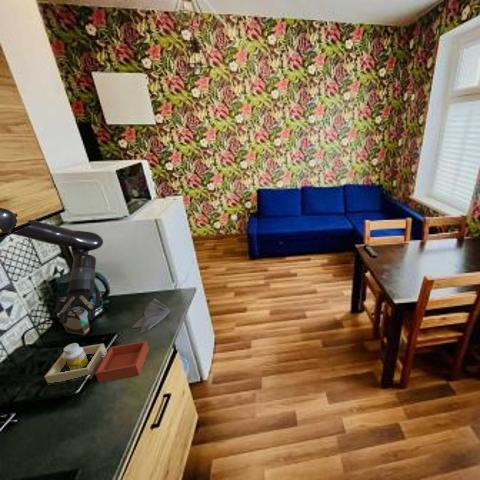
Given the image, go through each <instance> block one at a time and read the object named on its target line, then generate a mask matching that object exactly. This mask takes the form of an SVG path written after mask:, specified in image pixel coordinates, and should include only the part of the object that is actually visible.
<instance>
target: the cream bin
mask: <svg viewBox="0 0 480 480" xmlns="http://www.w3.org/2000/svg"><path fill="white" fill-rule="evenodd" d="M81 347H82V348H83V350H84V352H85V354H86V355H87V354H94V353H95V354H94V356H93V357H92V359H91V361H90V362H89V364H88V365H87V367H86V368H81V369H76V370H70V371H65V372H60V371H61V369H62V368H63V367H64V365H65V364H66V360H65V358H64V354H65V353H64V351H63V352H62V353H61V355H60V356H59V357H58V358H57V360H56V361H55V362H54V364H53V365H52V366H51V368H50V369H49V370H48V372H46V374H45V375H44V379H45V381H46V383H47V384H48V383H54V382H61V381H66V380H70V379H74V378H78V377H82V376H85V375H90V378H89V379H88V380H91V379H93V378H94V376H95V375H96V374H95V373H96V371H97V369H98V368H99V366H100V364H101V362H102V361H103V359H104V357H105V355H106V354H107V352H108V351H107V349H106V346H105V343H98V344H92V345H86V346H81ZM105 352H106V353H105ZM103 355H104V356H103ZM102 356H103V357H102Z"/></svg>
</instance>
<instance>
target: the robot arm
mask: <svg viewBox="0 0 480 480" xmlns="http://www.w3.org/2000/svg"><path fill="white" fill-rule="evenodd" d="M16 216H17V215H16V214H15V213H14V212H13V211H12V210H9V209H7V208H4V207H1V206H0V229H1V230H2V232H4V233H8V234H9V233H11V232H12V231H13V229H14V228H15V226H16V223H17V219H16ZM28 223H29V224H31V225H30V226H28V227H26V228H23V229H21V230H19V231H17V232H14V233H12V234H11V235H15V236H19V237H22V238H27V239H31V240H34V241H36V242H37V241H38V242H41V243H45V244H48V245H49V244H50V245H55V246H59V247H64V248H65V247H66V248H67V247H68V248H69V247H70V250H71V254H72V258H73V262H72V268H71V272H70V277H69V282H68V290H67V293H68V295H67V296H58V297H57V298H56V303H55V306H54V311H53V312H54V313H56V314H57V313H60V318H59V320H58V321H59V323H60V324H61V325H63V324H66V323H67V317H68V314H67V313H68V312H69V311H70V310H71V309H73V308H75V307H82V306H83V307H84V306H87V307H88V308H89V309H88V311H87V312H88V315H87V319H88V321H94V319H95V317H96V311H97V310H98V309H100V308H102V307H103V292H101V291H96V292H94V290H95V281H96V265H97V258H96V256H94V255H92V254H89V252H91V251H94V250H98V249H100V248H101V247H103V244H104V239H103V237H102V236H101V235H99V234H98V233H96V232H92V231H86V230H85V231H84V230H74V229H70V228H66V227H62V226H59V225H55V224H50V223H46V222H42V221H36V220H33V219H29V221H28ZM9 235H10V234H9ZM9 235H7V236H4V237H2V238H0V244H2V242H4V240H6V239H7V237H8V236H9ZM92 299H94V302H93V301H92Z"/></svg>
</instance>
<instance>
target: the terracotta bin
mask: <svg viewBox="0 0 480 480" xmlns="http://www.w3.org/2000/svg"><path fill="white" fill-rule="evenodd" d="M149 351H150V347H149V344H148V342H147V340H143V341H138V342H131V343H127V344H120V345H115V346H110V347H109V349H108V351H107V353H106V355H105V357H104V359H103V360H102V362H101V364H100V365H99V367H98V369H97V371H96V372H95V374H94V375H95V376H96V379H97V382H98V383H99V384H101V383H107V382H112V381H117V380H121V379H126V378H132V377H136V376H140V374H141V372H142V369H143V366H144V364H145V361H146V359H147V357H148V354H149Z"/></svg>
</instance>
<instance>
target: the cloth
mask: <svg viewBox="0 0 480 480" xmlns="http://www.w3.org/2000/svg"><path fill="white" fill-rule="evenodd" d="M170 312H171V309H170V308H168V306H167V305H165V304H164V303H162V302H160V301H159V300H158V299H156V298H155V297H154V298H153V299H152V300H151V301H149V302H148V303H147V304H145V306H144V311H143V316H142V317H141V318H140V319H138V320H137V321H136V322H135V323H134V325H133V326H132V327H131V328H132V329H137V328H141V330H140V331H139V333H140V334H142V333H146V332H147V331H150V330H151V329H152V328H153V327H155V326H157V324H159V323H160V322H161V321H162V320H163V319H165V318H166V317H167V316H168V315H169V313H170Z"/></svg>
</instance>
